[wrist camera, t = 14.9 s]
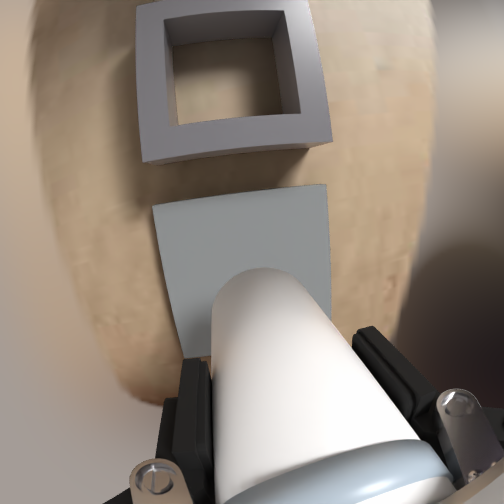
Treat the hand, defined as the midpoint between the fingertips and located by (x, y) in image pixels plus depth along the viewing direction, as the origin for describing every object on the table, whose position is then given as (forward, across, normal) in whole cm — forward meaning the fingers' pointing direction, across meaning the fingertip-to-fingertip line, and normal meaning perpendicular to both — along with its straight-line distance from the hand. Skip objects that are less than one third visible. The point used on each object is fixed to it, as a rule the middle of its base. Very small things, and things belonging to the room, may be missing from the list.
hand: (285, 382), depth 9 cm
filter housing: (+11, 0, -13) cm, 17 cm away
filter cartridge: (+5, 0, 0) cm, 5 cm away
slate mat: (+11, 0, 0) cm, 11 cm away
